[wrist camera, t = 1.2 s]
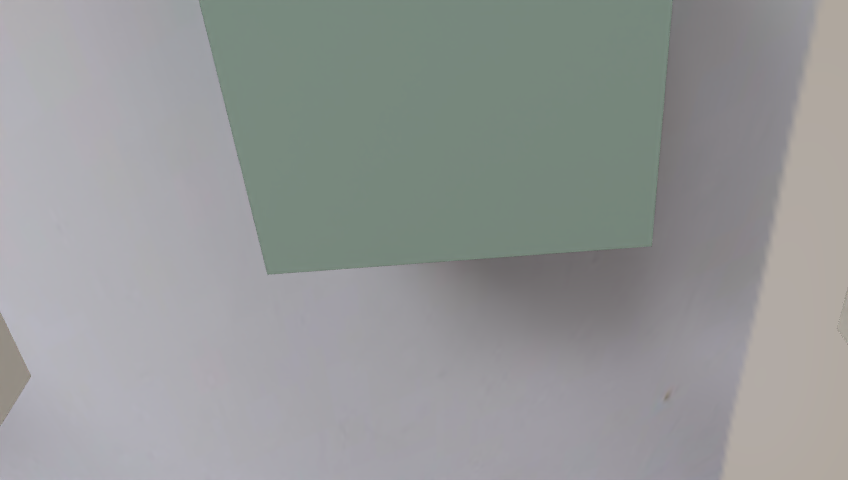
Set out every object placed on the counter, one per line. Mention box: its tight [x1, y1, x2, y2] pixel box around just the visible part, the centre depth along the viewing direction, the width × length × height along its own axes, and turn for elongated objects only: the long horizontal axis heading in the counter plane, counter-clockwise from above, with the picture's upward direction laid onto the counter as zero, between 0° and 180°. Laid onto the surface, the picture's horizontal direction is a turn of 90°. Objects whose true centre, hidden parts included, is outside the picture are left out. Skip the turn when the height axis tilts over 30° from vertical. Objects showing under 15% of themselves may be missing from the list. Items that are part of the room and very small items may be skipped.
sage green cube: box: [199, 0, 673, 274], centre depth 21 cm, size 10×10×9 cm
